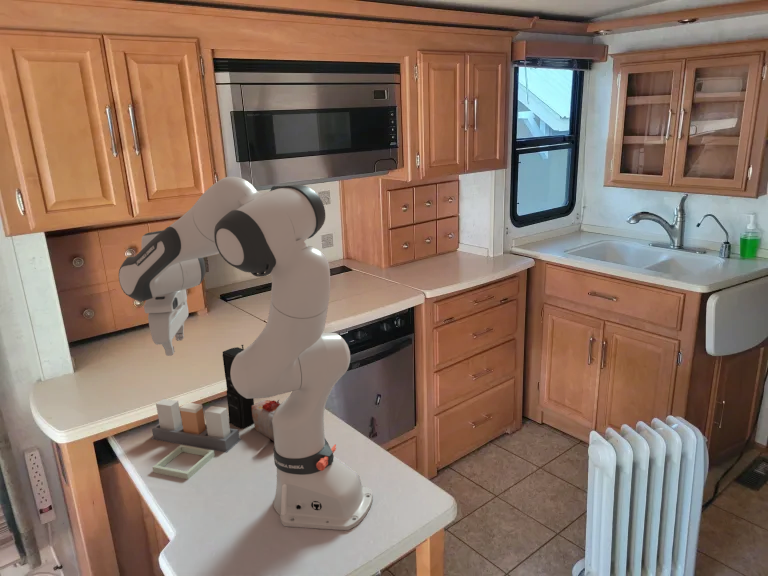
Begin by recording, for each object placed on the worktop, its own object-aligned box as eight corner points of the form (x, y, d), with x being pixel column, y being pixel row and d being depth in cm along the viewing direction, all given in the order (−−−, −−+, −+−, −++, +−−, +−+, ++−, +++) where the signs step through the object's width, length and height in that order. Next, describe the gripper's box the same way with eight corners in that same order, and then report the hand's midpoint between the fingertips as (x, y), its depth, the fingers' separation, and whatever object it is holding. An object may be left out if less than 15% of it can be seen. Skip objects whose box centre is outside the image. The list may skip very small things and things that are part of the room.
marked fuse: (207, 437, 156) (202, 404, 154) (200, 442, 154) (195, 409, 151) (192, 434, 158) (187, 402, 155) (185, 440, 155) (179, 407, 153)
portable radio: (226, 424, 165) (215, 344, 158) (243, 416, 169) (233, 337, 162) (242, 432, 160) (231, 350, 153) (259, 423, 164) (250, 343, 157)
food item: (249, 431, 161) (246, 399, 158) (273, 420, 166) (270, 389, 163) (277, 448, 151) (274, 415, 148) (301, 436, 157) (298, 404, 154)
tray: (215, 459, 147) (214, 450, 147) (188, 482, 138) (187, 473, 137) (182, 452, 151) (180, 444, 150) (154, 475, 141) (152, 466, 141)
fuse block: (242, 441, 155) (237, 405, 152) (227, 455, 149) (222, 418, 146) (168, 429, 163) (162, 394, 160) (151, 442, 157) (144, 406, 154)
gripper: (166, 283, 149) (173, 332, 153) (141, 309, 129) (150, 364, 133) (190, 282, 149) (197, 330, 153) (169, 307, 130) (177, 362, 134)
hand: (175, 346), depth 143 cm, fingers open, 8 cm apart
